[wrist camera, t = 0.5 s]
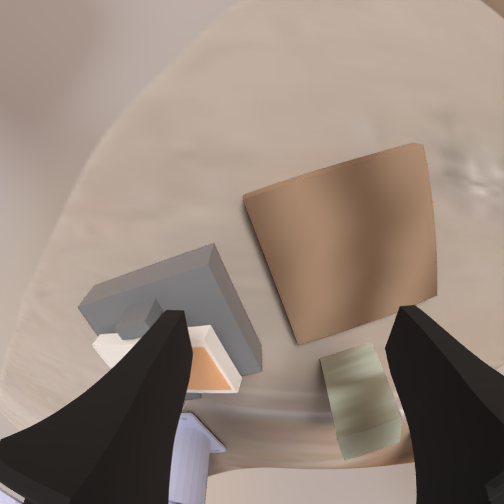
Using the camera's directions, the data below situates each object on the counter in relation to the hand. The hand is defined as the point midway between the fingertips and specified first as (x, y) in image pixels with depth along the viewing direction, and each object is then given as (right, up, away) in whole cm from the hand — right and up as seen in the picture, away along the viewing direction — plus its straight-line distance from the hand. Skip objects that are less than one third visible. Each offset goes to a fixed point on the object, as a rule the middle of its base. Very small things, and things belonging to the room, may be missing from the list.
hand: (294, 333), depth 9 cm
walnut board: (+5, +3, +7) cm, 9 cm away
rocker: (-6, -3, +5) cm, 9 cm away
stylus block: (+6, -6, +11) cm, 14 cm away
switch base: (-6, -2, +9) cm, 11 cm away
